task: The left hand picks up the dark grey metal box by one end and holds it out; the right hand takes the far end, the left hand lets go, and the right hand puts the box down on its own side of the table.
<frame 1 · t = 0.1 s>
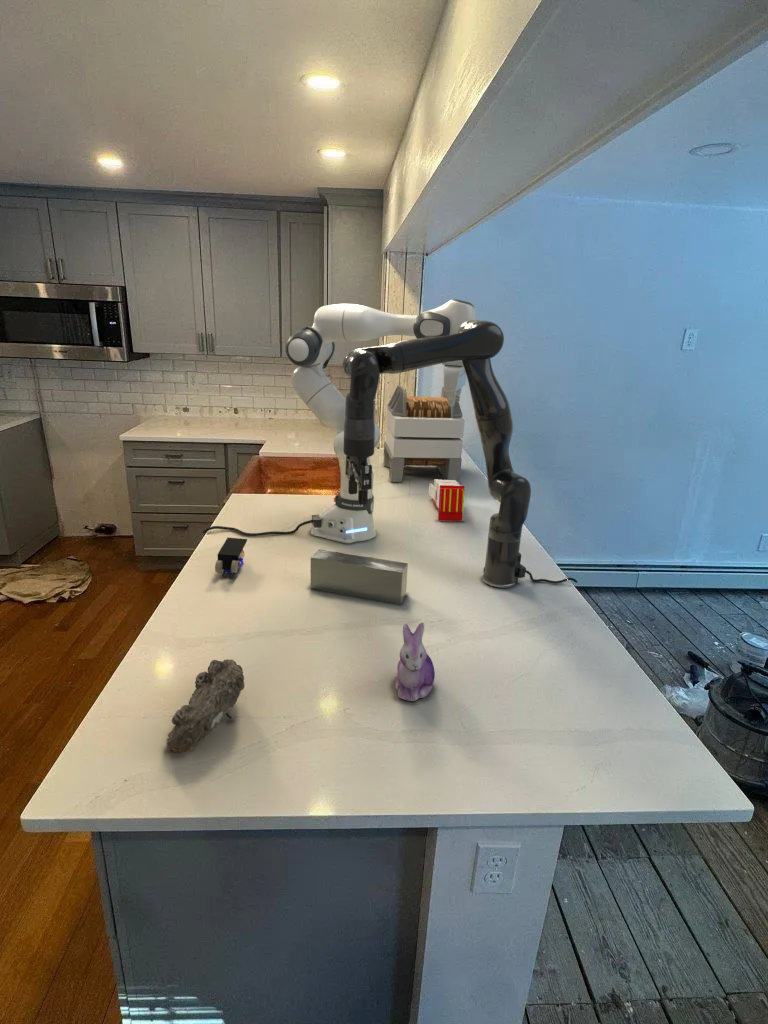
left hand: (453, 403, 174), 48 cm above the counter, tool pointing down, fingers open, 8 cm apart
right hand: (357, 498, 143), 29 cm above the counter, tool pointing down, fingers open, 8 cm apart
fossil: (212, 717, 108), on the counter
figurine character: (232, 569, 168), on the counter
box: (358, 591, 158), on the counter
figurine: (414, 689, 119), on the counter
transformer: (419, 473, 275), on the counter
toy: (445, 509, 227), on the counter
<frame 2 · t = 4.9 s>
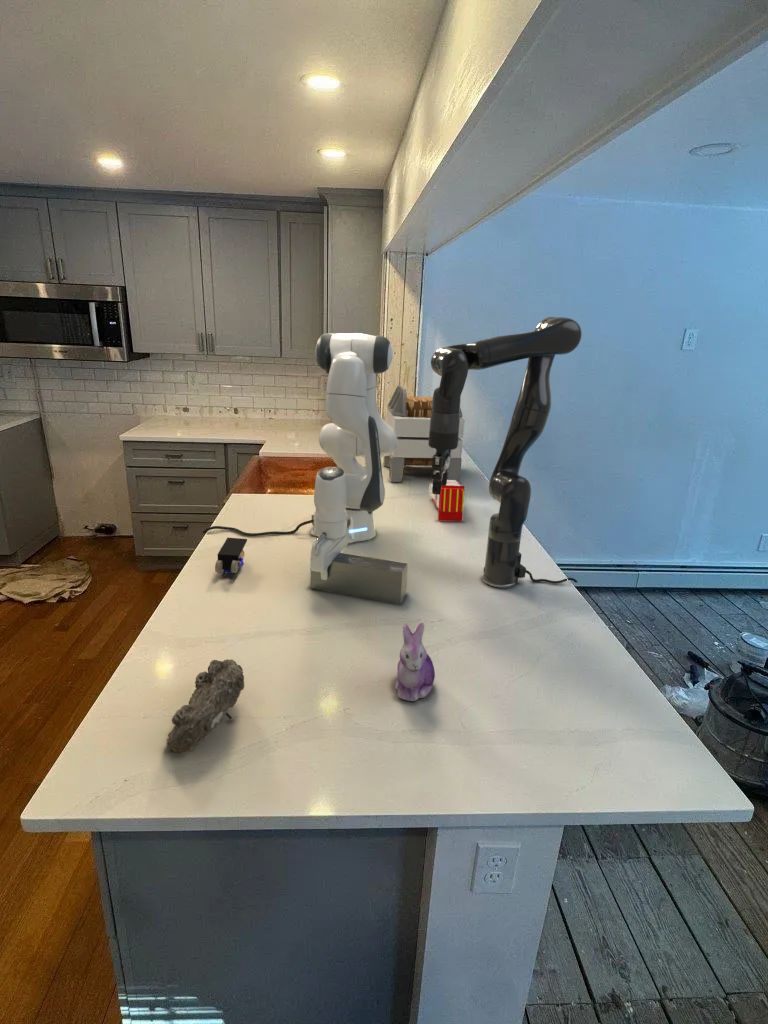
left hand: (329, 573, 159), 4 cm above the counter, tool pointing down, fingers closed on box, 6 cm apart
right hand: (439, 489, 150), 30 cm above the counter, tool pointing down, fingers open, 8 cm apart
box: (357, 591, 158), on the counter, touching left hand
everything else where it was.
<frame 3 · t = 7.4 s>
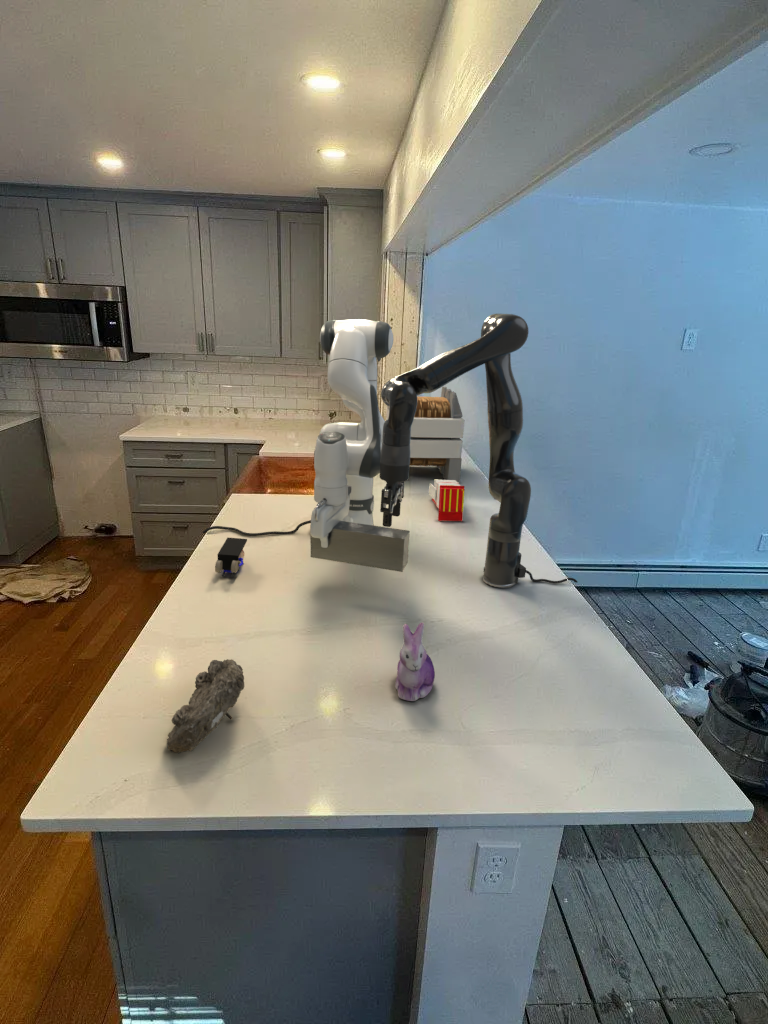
left hand: (330, 541, 156), 14 cm above the counter, tool pointing down, fingers closed on box, 6 cm apart
right hand: (391, 520, 149), 22 cm above the counter, tool pointing down, fingers open, 8 cm apart
box: (359, 560, 155), point 10 cm above the counter, touching left hand
everything else where it was.
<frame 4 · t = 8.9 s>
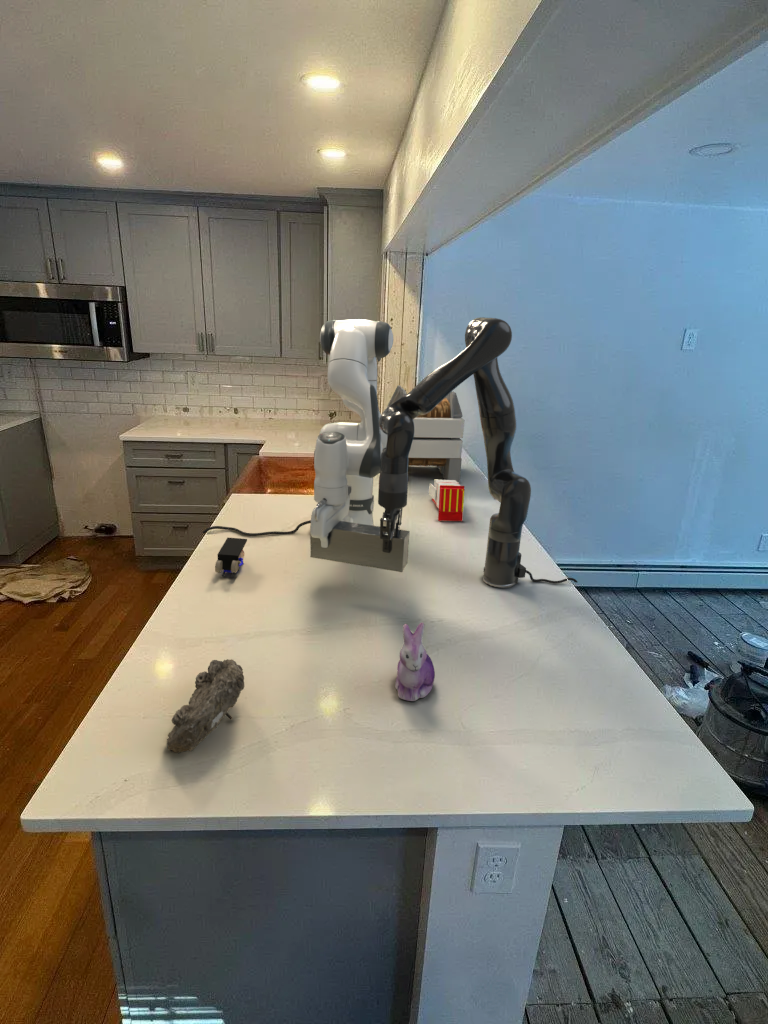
left hand: (330, 541, 156), 14 cm above the counter, tool pointing down, fingers closed on box, 6 cm apart
right hand: (390, 547, 151), 15 cm above the counter, tool pointing down, fingers closed on box, 6 cm apart
box: (358, 560, 155), point 10 cm above the counter, touching left hand, right hand
everything else where it was.
when the left hand's fingers open (14 cm above the counter, at t = 10.1 s): box moves 2 cm, held by the right hand.
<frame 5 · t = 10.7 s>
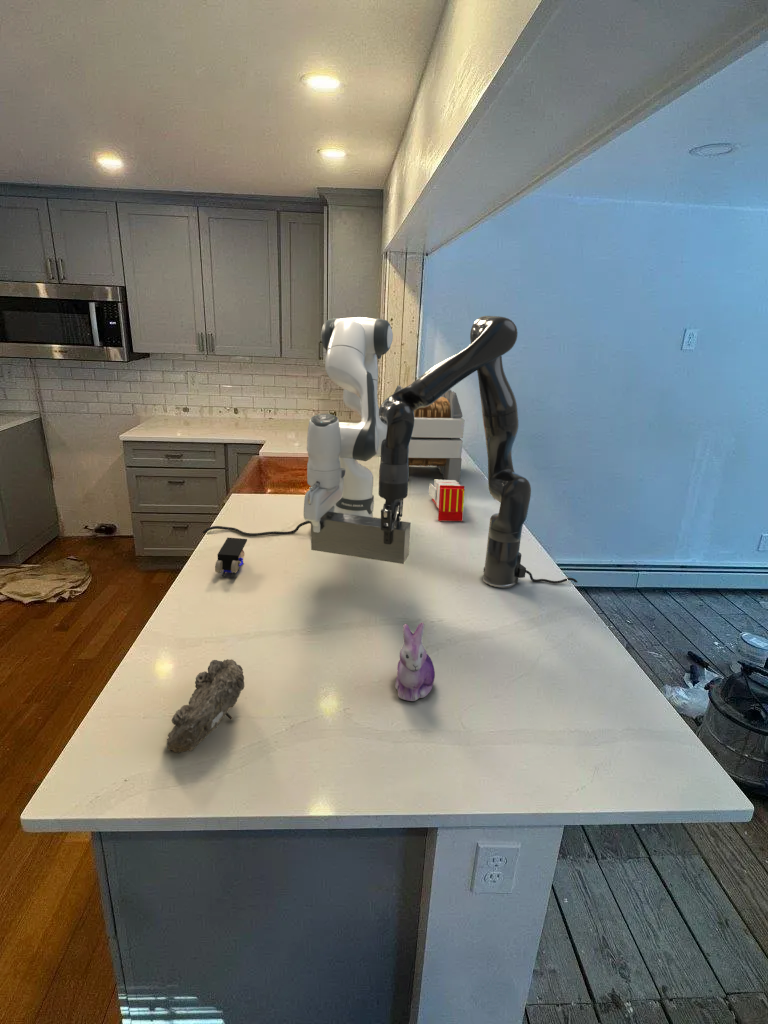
left hand: (323, 524, 155), 18 cm above the counter, tool pointing down, fingers open, 8 cm apart
right hand: (391, 538, 150), 17 cm above the counter, tool pointing down, fingers closed on box, 6 cm apart
box: (359, 552, 154), point 12 cm above the counter, touching right hand
everything else where it was.
when the right hand's fingers open (7 cm above the counter, at t = 15.6 s): box drops 2 cm, on the counter.
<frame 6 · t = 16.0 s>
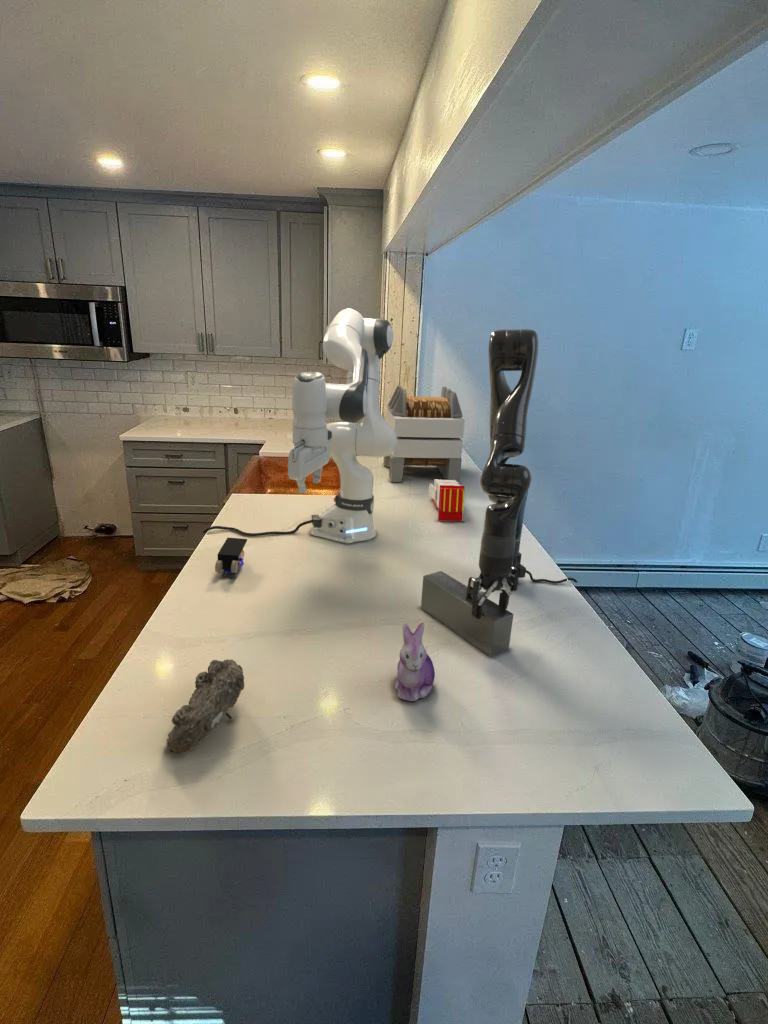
left hand: (309, 487, 152), 29 cm above the counter, tool pointing down, fingers open, 8 cm apart
right hand: (489, 612, 133), 8 cm above the counter, tool pointing down, fingers open, 8 cm apart
box: (462, 627, 143), on the counter
everything else where it was.
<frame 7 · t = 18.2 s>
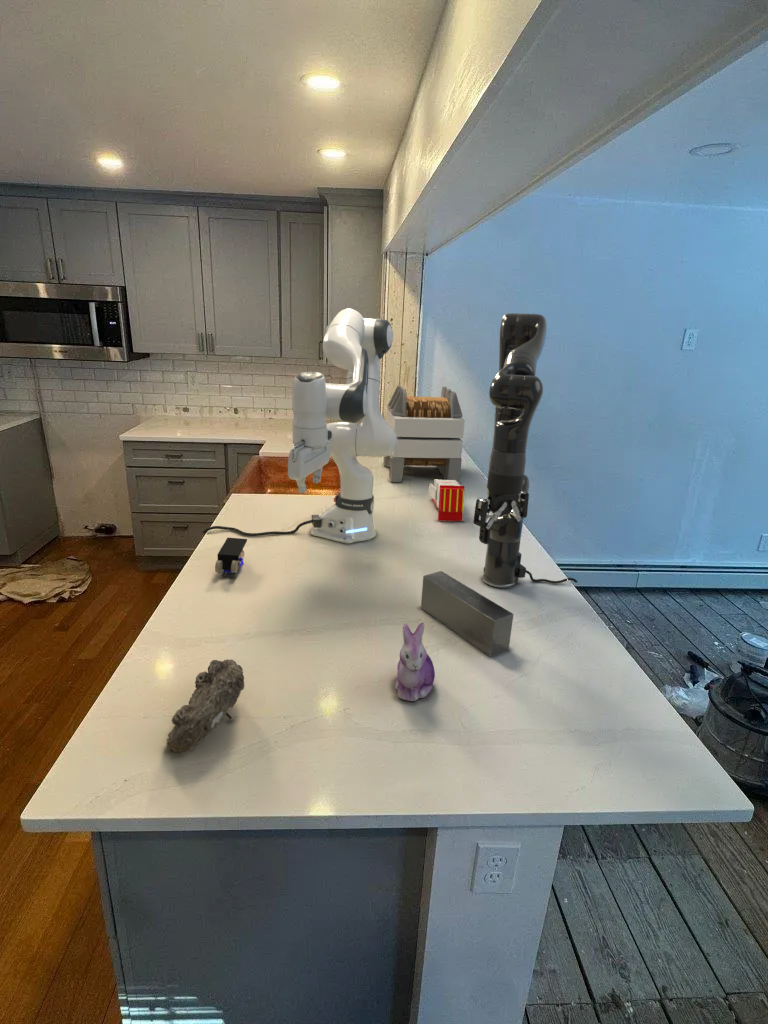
left hand: (309, 487, 152), 29 cm above the counter, tool pointing down, fingers open, 8 cm apart
right hand: (498, 539, 127), 27 cm above the counter, tool pointing down, fingers open, 8 cm apart
nothing on the counter moved.
at the end: box inside the target area (8.4 cm from its centre), on the counter; the left hand is holding nothing; the right hand is holding nothing; box at rest at the end (0.0 cm/s) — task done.
